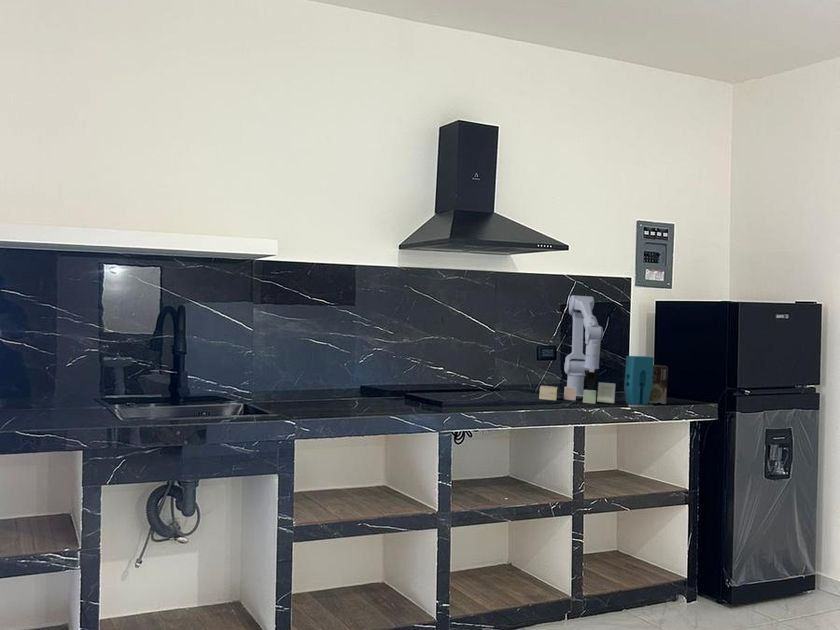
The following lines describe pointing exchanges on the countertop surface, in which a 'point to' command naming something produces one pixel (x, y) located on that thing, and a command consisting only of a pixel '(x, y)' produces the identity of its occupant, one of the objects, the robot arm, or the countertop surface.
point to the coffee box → (659, 385)
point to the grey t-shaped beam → (606, 392)
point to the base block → (548, 393)
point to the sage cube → (589, 396)
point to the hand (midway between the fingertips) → (590, 388)
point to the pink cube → (570, 393)
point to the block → (638, 379)
